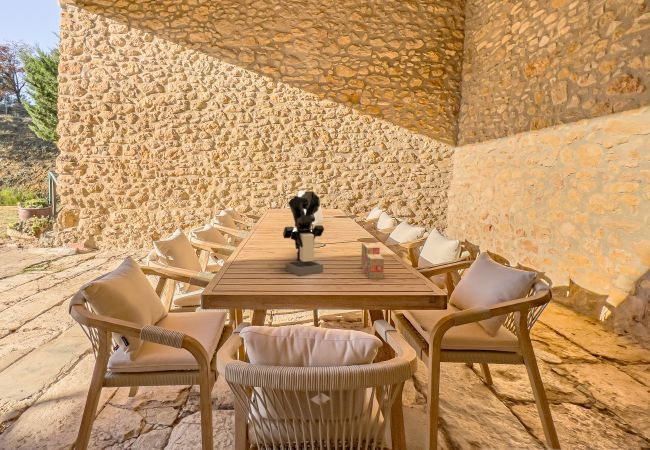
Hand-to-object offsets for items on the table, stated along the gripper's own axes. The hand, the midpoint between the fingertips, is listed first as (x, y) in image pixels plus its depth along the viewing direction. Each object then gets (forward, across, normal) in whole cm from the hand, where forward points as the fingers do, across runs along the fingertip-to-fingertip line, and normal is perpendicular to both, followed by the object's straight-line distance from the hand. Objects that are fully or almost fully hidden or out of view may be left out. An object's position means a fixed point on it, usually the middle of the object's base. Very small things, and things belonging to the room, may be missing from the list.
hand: (307, 246), depth 171 cm
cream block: (+4, 0, +6) cm, 7 cm away
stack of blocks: (+15, +29, +3) cm, 33 cm away
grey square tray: (+6, -1, +11) cm, 13 cm away
